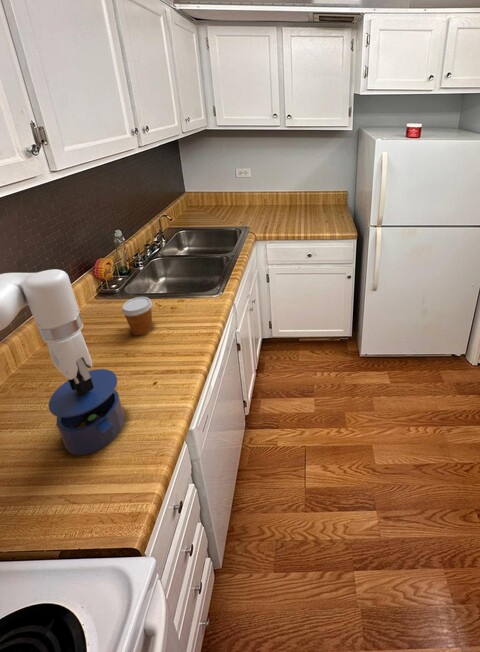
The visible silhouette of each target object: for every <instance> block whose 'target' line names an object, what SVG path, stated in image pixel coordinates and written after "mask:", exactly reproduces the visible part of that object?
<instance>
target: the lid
mask: <svg viewBox="0 0 480 652" xmlns="http://www.w3.org/2000/svg"><path fill="white" fill-rule="evenodd" d="M88 371H89V374H90V376H91V380H92V383H93V386H94V388H93V389H92V390H90V391H89V392H87V393H86V394H84V395H82V396H81V397H79V396H78V395H77V392H76V390H72V389H71V386H70V383H69V380H68V379H67V380H66V381H65V382H64V383H62V384H61V385H60V386H59V387H57V389H56V390H55V391H54V392H53V393H52V395H51V396H50V398H49V401H48V410H49V412H50V413H51V415H53V416H55V417H56V418H57V417H62V418H68V417H74V416H78V415H81V414H84V413H86V412H89V411H91V410H93V409H94V408H96V407H98V406H99V405H101V404H102V403H103V402H104V401H106V400H107V399H108V398H109V397H110V396H111V394H112V393H113V392H114V390H116V388H117V386H118V376H117V375H116V373H115V372H113V371H112V370H111V369H106V368H96V369H90V370H88ZM80 375H81V374H80V373H79V374H78V375H77V377H78V376H80ZM73 380H74V378H73ZM74 383H75V381H74Z"/></svg>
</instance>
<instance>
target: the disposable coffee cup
mask: <svg viewBox="0 0 480 652" xmlns="http://www.w3.org/2000/svg"><path fill="white" fill-rule="evenodd" d="M152 307H153V301H152V300H151V299H150V298H149V297H147V296H136V297H133V298H130V299H128V300H127V301H125V302H124V303H123V305H122V308H121V313H122V314H123V315H124V317H125V319H126V322H127V324H128V326H129V329H130V331H131V333H132V334H133V335H134V336H144V335H146V334H148V333H150V332H151V331H152V329H153V312H152Z"/></svg>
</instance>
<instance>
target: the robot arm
mask: <svg viewBox="0 0 480 652" xmlns="http://www.w3.org/2000/svg"><path fill="white" fill-rule="evenodd" d="M25 307H29V309H30V313H31V315H32V318H33V320H34V323H35V325H36V329H37V331H38V334H39V336H40V339H41V341H43V342H45V343H46V347H47V350H48V353H49V356H50V359H51V360H50V361H51V362H52V365H53V366H54V367H55V368H56V370H58V371H59V372H60V373H61V375H62V376H63V377H64V378H65V379H67V381H68V380H69V383H70V386H71V389H72V390H76V392H77V395H78V396H79V397H81V396H82V395H84V394H86V393H87V392H89V391H90V390H92V389H93V388H94V386H93V383H92V380H91V376H90V374H89V371H90V370H92V368H93V361H92V358H91V357H92V356H91V354H90V351H89V348H88V346H87V344H86V343H87V342H86V341H85V338H84V336H83V333H82V331H81V330H82V329H83V327H84V321H83V317H82V315H81V311H80V308H79V306H78V302H77V299H76V296H75V293H74V289H73V286H72V282H71V280H70V276H69V275H68V273H67V272H66V271H64V270H62V269H57V268H56V269H54V268H53V269H47V270H42V271H38V272H5V273H0V331H2V330H4V329H5V328H7V327H8V326H9V325H10V324H12V322H13V321H14V320H15V318H16V317H17V316H18V314H19V313H20V312H21V311H22V309H24V308H25ZM89 369H90V370H89ZM79 373H80V374H81V375H80V376H78V377H77V375H78V374H79ZM73 378H74V380H73ZM74 381H75V383H74Z"/></svg>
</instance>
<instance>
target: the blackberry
mask: <svg viewBox="0 0 480 652" xmlns="http://www.w3.org/2000/svg"><path fill="white" fill-rule="evenodd" d="M101 418H102V417H101V416H100V415H98V414H97V413H95V414H92V415H90V416H89V417H87V420H86V422H85V427H86V426H88V425H90V424H93V423H95V422H96V421H98V420H99V419H101Z"/></svg>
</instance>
